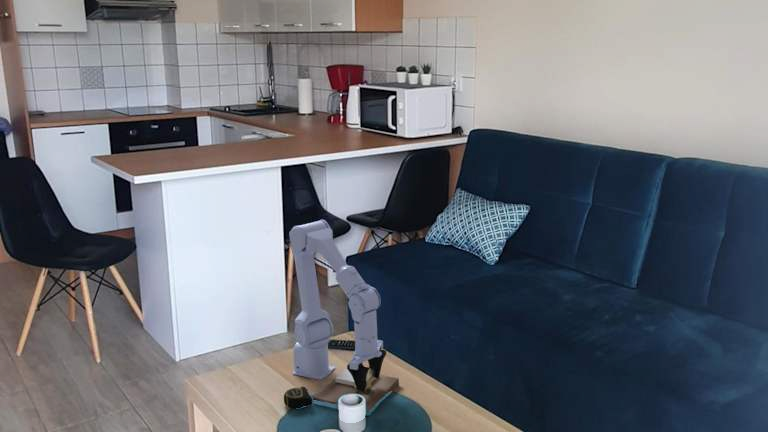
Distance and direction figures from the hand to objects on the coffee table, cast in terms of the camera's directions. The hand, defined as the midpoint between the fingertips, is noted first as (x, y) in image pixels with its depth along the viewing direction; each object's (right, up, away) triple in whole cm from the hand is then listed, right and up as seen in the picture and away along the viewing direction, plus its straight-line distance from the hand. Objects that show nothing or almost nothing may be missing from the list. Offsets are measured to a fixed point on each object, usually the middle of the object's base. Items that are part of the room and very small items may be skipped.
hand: (368, 383), depth 182 cm
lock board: (-3, -4, +4) cm, 6 cm away
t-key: (-1, -2, +1) cm, 2 cm away
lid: (-3, 0, +7) cm, 8 cm away
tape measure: (-18, -6, 0) cm, 19 cm away
